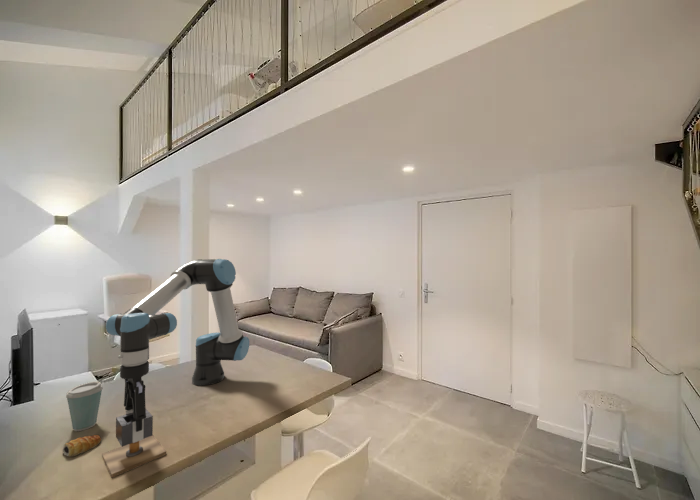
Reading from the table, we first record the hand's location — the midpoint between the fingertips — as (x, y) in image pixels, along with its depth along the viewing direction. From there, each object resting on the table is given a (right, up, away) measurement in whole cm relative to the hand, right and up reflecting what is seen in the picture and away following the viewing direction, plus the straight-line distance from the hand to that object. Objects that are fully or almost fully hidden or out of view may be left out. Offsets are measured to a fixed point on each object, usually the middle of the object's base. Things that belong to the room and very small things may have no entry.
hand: (134, 435), depth 98 cm
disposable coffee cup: (-31, -8, +18) cm, 37 cm away
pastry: (-20, -7, +4) cm, 22 cm away
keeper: (0, -6, 0) cm, 6 cm away
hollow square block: (0, 0, 0) cm, 0 cm away
